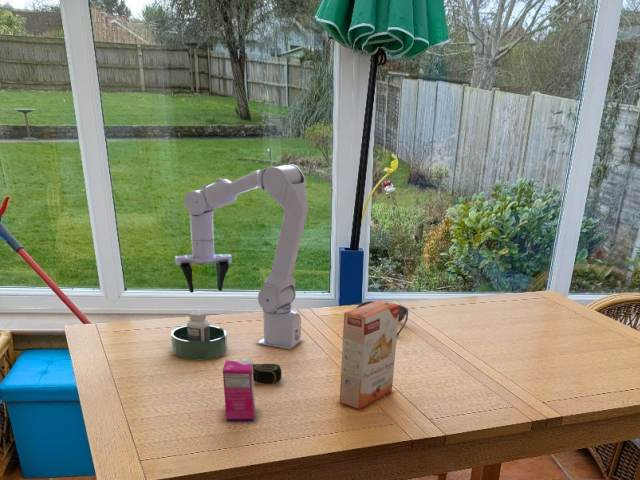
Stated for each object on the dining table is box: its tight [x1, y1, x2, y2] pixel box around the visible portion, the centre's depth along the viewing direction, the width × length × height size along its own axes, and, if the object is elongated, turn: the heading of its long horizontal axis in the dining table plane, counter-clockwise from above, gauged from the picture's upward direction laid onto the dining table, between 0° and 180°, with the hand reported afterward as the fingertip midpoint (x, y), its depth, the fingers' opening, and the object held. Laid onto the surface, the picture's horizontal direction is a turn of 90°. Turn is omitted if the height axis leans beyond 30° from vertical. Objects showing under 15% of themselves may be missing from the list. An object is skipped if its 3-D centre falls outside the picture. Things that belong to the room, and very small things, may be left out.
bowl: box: [170, 324, 228, 361], centre depth 183 cm, size 13×13×5 cm
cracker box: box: [339, 299, 400, 410], centre depth 160 cm, size 14×6×21 cm, turn 148°
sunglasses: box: [354, 300, 409, 338], centre depth 211 cm, size 16×17×5 cm
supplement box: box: [222, 359, 256, 423], centre depth 150 cm, size 6×6×12 cm
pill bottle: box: [186, 309, 210, 342], centre depth 182 cm, size 5×5×10 cm
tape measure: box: [253, 363, 282, 385], centre depth 169 cm, size 7×7×4 cm
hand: (205, 290), depth 196 cm, fingers open, 7 cm apart
